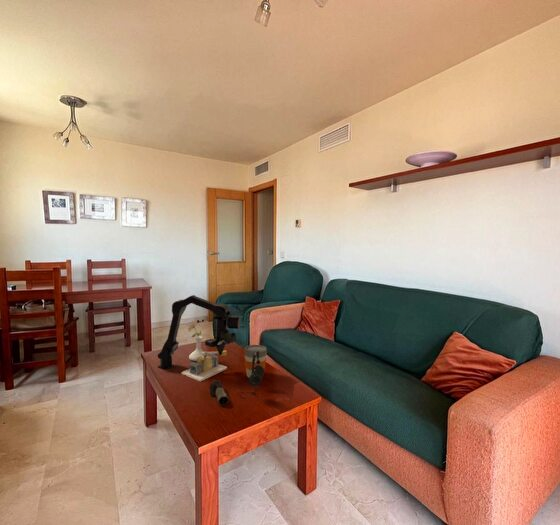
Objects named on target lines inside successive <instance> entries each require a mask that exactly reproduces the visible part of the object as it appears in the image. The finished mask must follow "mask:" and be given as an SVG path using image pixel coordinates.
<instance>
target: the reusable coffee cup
mask: <svg viewBox="0 0 560 525" xmlns="http://www.w3.org/2000/svg"><path fill="white" fill-rule="evenodd" d="M255 351H259V356H260V364H256V363H257V355H256V358H255V363H254V367H255V366H256V365H261V366H262V367H263V368H264V369H265V368H266V364H267V363H266V362H267V355H268V350H267V347H266V346H264V345H262V344H261V345H259V344H252V345H251V344H250V345H247V346H245V347H244V352H243V354H244V367H245V371H246V376H247V378H249V376H250V375H251V372H252V359H253V354H254V352H255Z"/></svg>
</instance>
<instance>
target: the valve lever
mask: <svg viewBox="0 0 560 525" xmlns="http://www.w3.org/2000/svg"><path fill="white" fill-rule="evenodd" d="M203 351H204V352H202V357H204V358H205V357H206V356H207V355H208V356H209V355H211V354H212V355H218V357H219V356H222V357H223V356H224V357H225V356H227V350H224V349H223V352H222V355H219V353H218V350H217V351H206V350H203Z"/></svg>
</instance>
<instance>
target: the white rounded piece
mask: <svg viewBox="0 0 560 525" xmlns="http://www.w3.org/2000/svg"><path fill="white" fill-rule="evenodd" d="M197 324H198V320H197V319H196V320H194V321H192V322H191V324H190V325H189V327H188V328H187V331H188V332H191V331H192V330H195V333H194V334H192V335H191V338H194V340H195V342H196V348H195V350H194V351H192V353H190V354H189V356H188V358H189V360H190V361H192V362H194V361H195V362H197V358H198V357H200V356H202V352H204V351H205V350H203V349H202V348H201V345H202V344H201V343H202V340H203V339H204V337H203V336H201V335H202V330H199V331H198V332H197V330H196V325H197ZM207 356H209V355H207Z"/></svg>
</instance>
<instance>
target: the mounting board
mask: <svg viewBox="0 0 560 525" xmlns="http://www.w3.org/2000/svg"><path fill="white" fill-rule="evenodd" d="M225 370H228V367H227V366H225V365H222V364H220V363H218V366H217V367H213V368H212V369H211V370H209V371H206V372H202V373H200V374H199V375H197V376H196V375H194V374H191V373H190V368H188V369H186V370H183V371H182V372H181V375H183V376H185V375H186V377H189V378H190V379H193V380H195V381H198V382H200V383H202V381H204V380H205V381H206V380H207V379H209V378H211V377H213V376H215V375H218V374H219V373H221V372H223V371H225Z"/></svg>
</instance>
